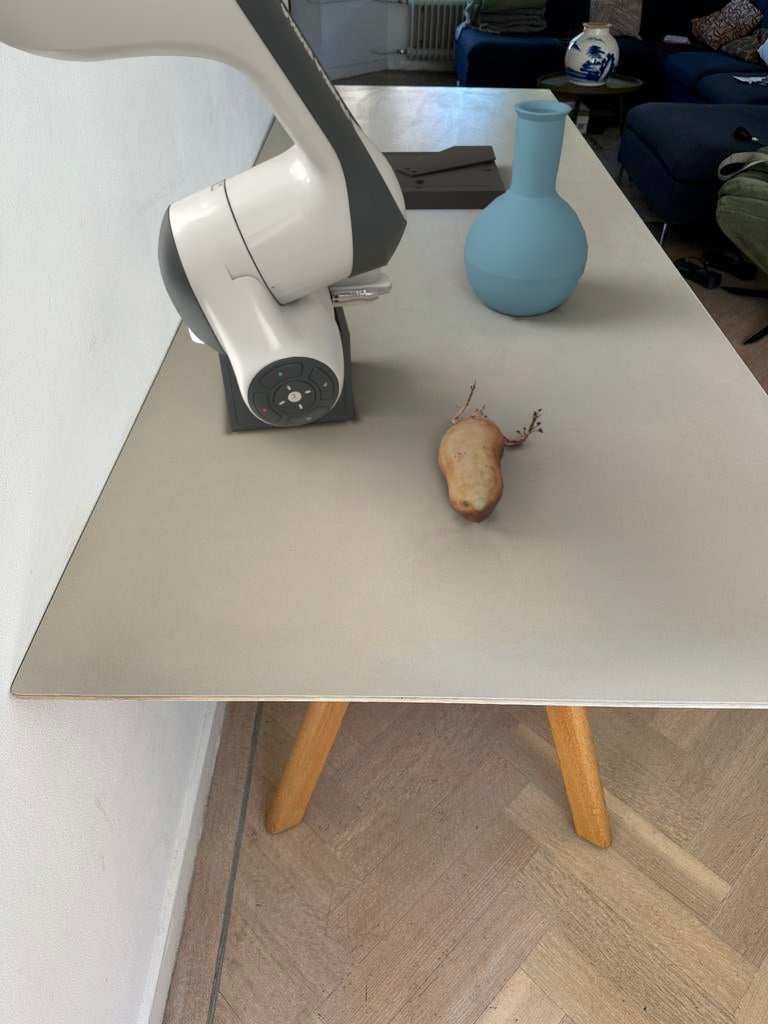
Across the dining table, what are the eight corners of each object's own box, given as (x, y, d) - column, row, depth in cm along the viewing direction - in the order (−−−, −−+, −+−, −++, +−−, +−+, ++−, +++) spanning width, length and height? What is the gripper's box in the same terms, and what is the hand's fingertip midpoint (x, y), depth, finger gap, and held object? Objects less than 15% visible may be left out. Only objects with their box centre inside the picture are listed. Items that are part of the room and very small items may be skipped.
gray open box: (231, 431, 84) (216, 345, 77) (230, 369, 94) (217, 287, 87) (353, 419, 85) (350, 334, 79) (339, 359, 96) (335, 279, 89)
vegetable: (575, 517, 68) (533, 432, 63) (463, 558, 72) (415, 480, 67) (554, 426, 81) (518, 348, 75) (460, 464, 84) (419, 392, 79)
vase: (476, 332, 101) (493, 128, 84) (449, 280, 113) (460, 92, 97) (595, 323, 103) (635, 121, 86) (556, 272, 115) (584, 87, 99)
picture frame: (490, 167, 153) (349, 168, 154) (491, 145, 151) (348, 146, 151) (504, 208, 136) (345, 208, 136) (506, 183, 133) (344, 184, 133)
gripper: (395, 261, 68) (372, 207, 78) (161, 278, 65) (170, 220, 76) (395, 326, 72) (373, 266, 82) (175, 344, 70) (181, 281, 80)
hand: (274, 244), depth 79 cm, fingers closed on chocolate box, 4 cm apart
